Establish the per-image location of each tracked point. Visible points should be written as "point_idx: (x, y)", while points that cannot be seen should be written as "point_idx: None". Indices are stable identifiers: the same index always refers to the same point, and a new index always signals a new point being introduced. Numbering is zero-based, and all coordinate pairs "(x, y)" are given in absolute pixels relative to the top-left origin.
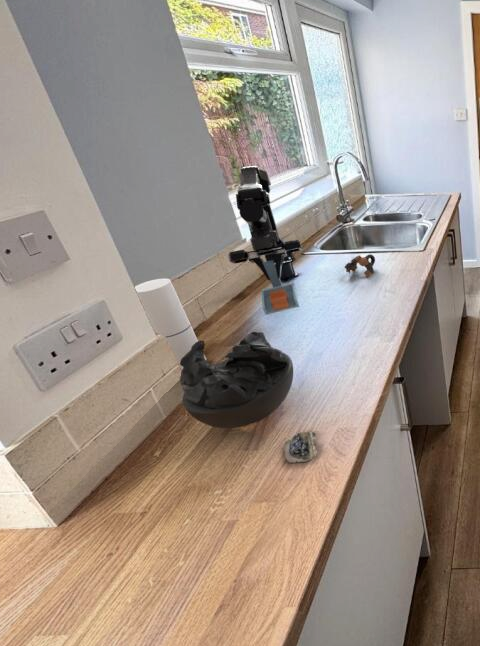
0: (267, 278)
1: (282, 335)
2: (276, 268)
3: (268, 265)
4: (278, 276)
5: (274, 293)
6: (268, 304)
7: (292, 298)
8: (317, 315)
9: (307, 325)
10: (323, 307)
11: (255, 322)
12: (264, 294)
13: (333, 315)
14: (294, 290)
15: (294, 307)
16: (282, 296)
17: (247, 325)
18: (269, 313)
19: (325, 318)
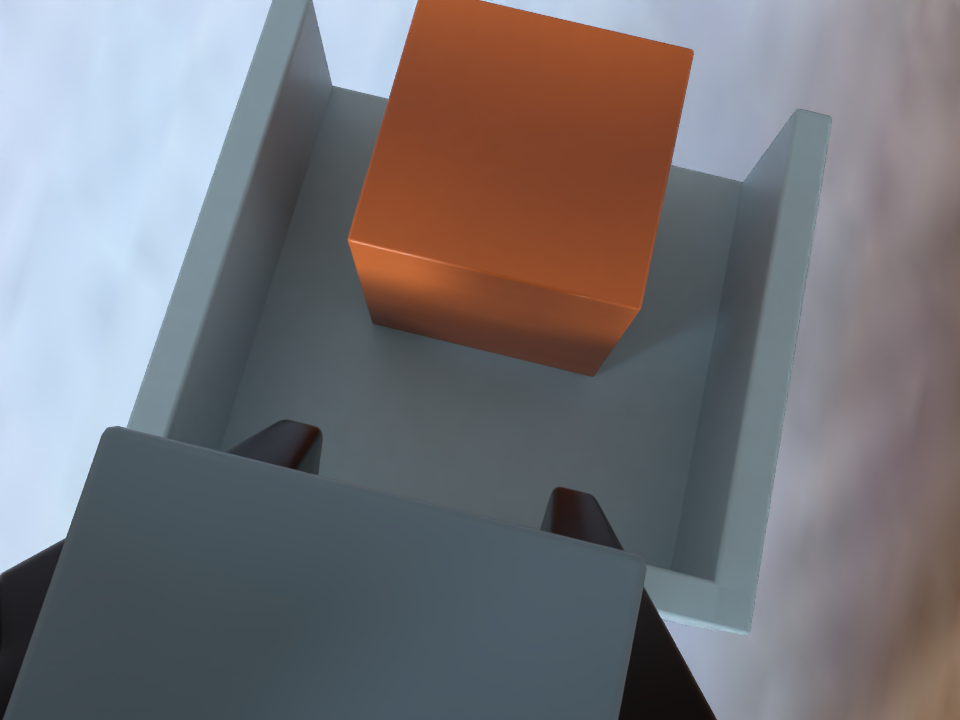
0: (601, 514)
1: (634, 6)
2: None
3: (424, 513)
4: (298, 435)
5: (565, 225)
6: (678, 367)
7: (312, 284)
8: (183, 188)
9: (346, 25)
10: (65, 342)
11: (798, 585)
12: (693, 560)
13: (36, 37)
14: (200, 230)
15: (367, 97)
16: (461, 53)
17: (887, 579)
18: (713, 180)
19: (132, 35)
